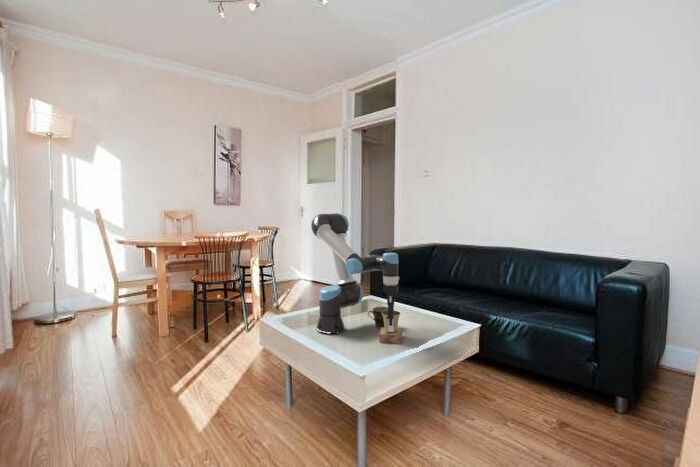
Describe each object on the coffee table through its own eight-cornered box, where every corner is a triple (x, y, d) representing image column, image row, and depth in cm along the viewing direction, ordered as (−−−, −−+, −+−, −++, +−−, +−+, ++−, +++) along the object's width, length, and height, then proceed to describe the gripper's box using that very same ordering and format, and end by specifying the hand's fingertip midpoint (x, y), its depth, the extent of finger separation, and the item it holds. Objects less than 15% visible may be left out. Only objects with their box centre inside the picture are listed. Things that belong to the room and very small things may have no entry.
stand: (379, 342, 176) (379, 334, 176) (380, 334, 187) (380, 327, 187) (401, 343, 174) (401, 335, 174) (401, 335, 185) (401, 328, 185)
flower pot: (400, 326, 184) (400, 310, 184) (400, 333, 175) (400, 315, 175) (381, 326, 185) (381, 310, 185) (381, 332, 176) (381, 315, 175)
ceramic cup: (387, 323, 206) (387, 306, 205) (393, 328, 196) (393, 310, 195) (365, 324, 203) (365, 307, 202) (370, 330, 193) (370, 312, 192)
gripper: (398, 288, 168) (398, 336, 169) (398, 280, 189) (398, 322, 190) (382, 288, 169) (382, 335, 170) (384, 279, 190) (384, 321, 191)
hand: (391, 328), depth 180 cm, fingers closed on flower pot, 8 cm apart
